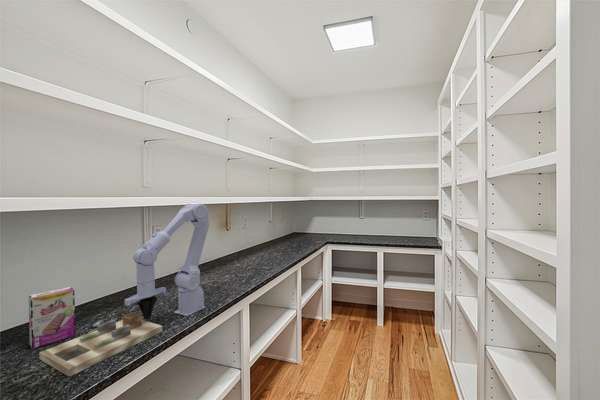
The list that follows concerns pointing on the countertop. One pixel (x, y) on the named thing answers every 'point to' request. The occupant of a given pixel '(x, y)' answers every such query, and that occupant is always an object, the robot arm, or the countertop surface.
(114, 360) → the countertop surface
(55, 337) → the candy bar box
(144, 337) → the board
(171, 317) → the countertop surface
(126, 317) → the walnut block
